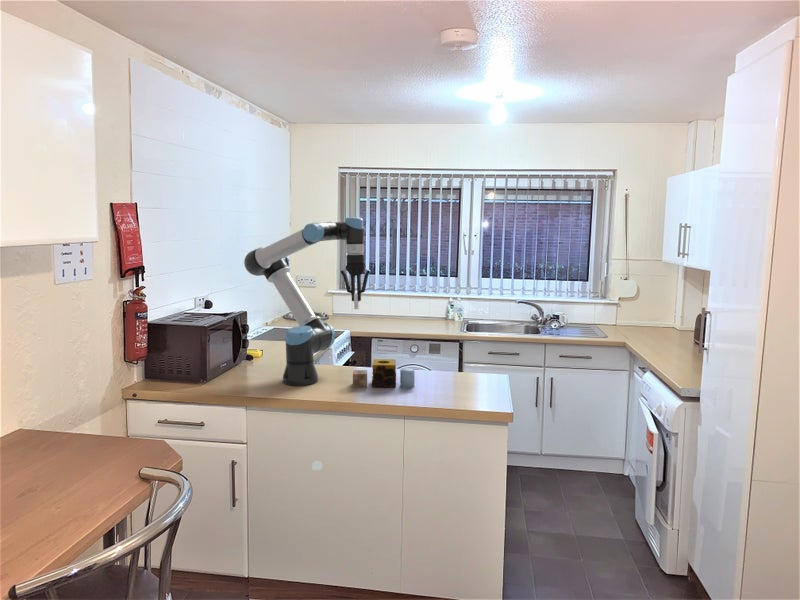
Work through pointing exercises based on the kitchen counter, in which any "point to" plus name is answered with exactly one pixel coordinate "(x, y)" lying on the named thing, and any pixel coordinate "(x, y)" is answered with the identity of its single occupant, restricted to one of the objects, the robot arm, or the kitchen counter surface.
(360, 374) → the brown jar
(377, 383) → the candle
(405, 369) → the blue cylinder
